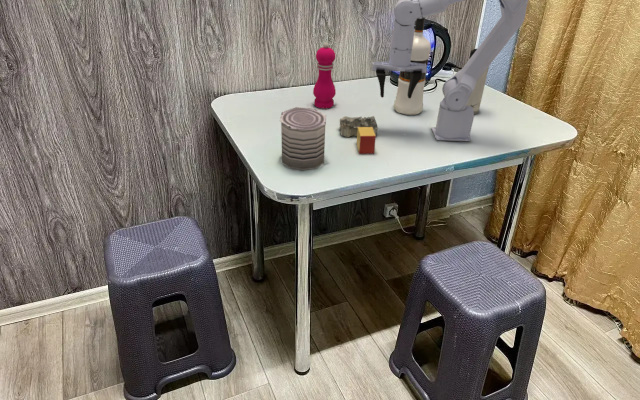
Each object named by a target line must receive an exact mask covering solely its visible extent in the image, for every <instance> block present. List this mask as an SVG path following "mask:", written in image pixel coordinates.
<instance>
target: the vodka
mask: <svg viewBox="0 0 640 400" xmlns="http://www.w3.org/2000/svg"><path fill="white" fill-rule="evenodd" d="M425 21H426V17H425V18H423V17H422V19H419V18H417V20H416V21H415V24H414V31H415V32H414V39H413V47H412V54H411V62H413V63H421V64H426V66H427V68H426V73H422V78H421V79H420V81H419V82H418V83H417V85H416V87H415V89H414V91H413V93H412V96H411V98H408V96H407V95H408V88H409V83H410V72H407V71H399V76H398V83H397V84H398V85H397V90H396V95H395V99H394V103H393V109H394V111H396V112H397V113H398V114H402V115H404V116H405V115H406V116H414V115H415V116H416V115H418V114H420V113H422V111H423V109H424V90H425V85H426V83H427V81H426V76H427V71H428V70H427V69H428V63H429V59H430V53H431V50H432V45H431V42H430V41H429V40H428V39H427V38H426V37H425V36H424V29H425Z"/></svg>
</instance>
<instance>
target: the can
mask: <svg viewBox="0 0 640 400" xmlns="http://www.w3.org/2000/svg"><path fill="white" fill-rule="evenodd" d="M279 122H280V125H281V126H280V128H281V129H280V131H281V134H280V136H281V163H282V164H283V165H284V166H286V167H287V168H288V169H291V170H298V171H309V170H316V169H318V168H320V167H321V166H322V165H324V164H325V147H326V145H325V144H326V125H327V115H326V114H324V113H322V112H321V111H319V110H317V109H316V108H312V107H311V108H310V107H298V106H296V107H293V108H290V109H287V110H284V111H281V114H280V118H279Z"/></svg>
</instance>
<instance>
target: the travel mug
mask: <svg viewBox="0 0 640 400" xmlns="http://www.w3.org/2000/svg"><path fill="white" fill-rule="evenodd" d="M477 49H478V48H474V49H472V50H470V52H469V57H468V60H469V59H470V58H471V57H472V55H473V54H474V53H475V51H476V50H477ZM489 68H490V65H489V66H488V68H487V69H486V70H485V71H484V73H483V74H482V75H481V77H480V78H479V79H478V80H477V82H476V85H475V88H474V91H473V92H472V93H471V95H470V97H469V101H468V104H467V105H466V106H471V107H472V108H473V111H474V115H477V114H479V112H480V108H481V104H482V100H483V99H482V98H483V94H484V91H485V85H486V82H487V77H488V73H489Z"/></svg>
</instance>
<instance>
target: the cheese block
mask: <svg viewBox="0 0 640 400" xmlns="http://www.w3.org/2000/svg"><path fill="white" fill-rule="evenodd" d="M376 138H377V136H376V135H375V133H374V130H373V128H372V127H358V131H357V136H356V147H357V150H358V154H359V155H361V154H362V155H363V154H364V155H365V154H375V149H376Z"/></svg>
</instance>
